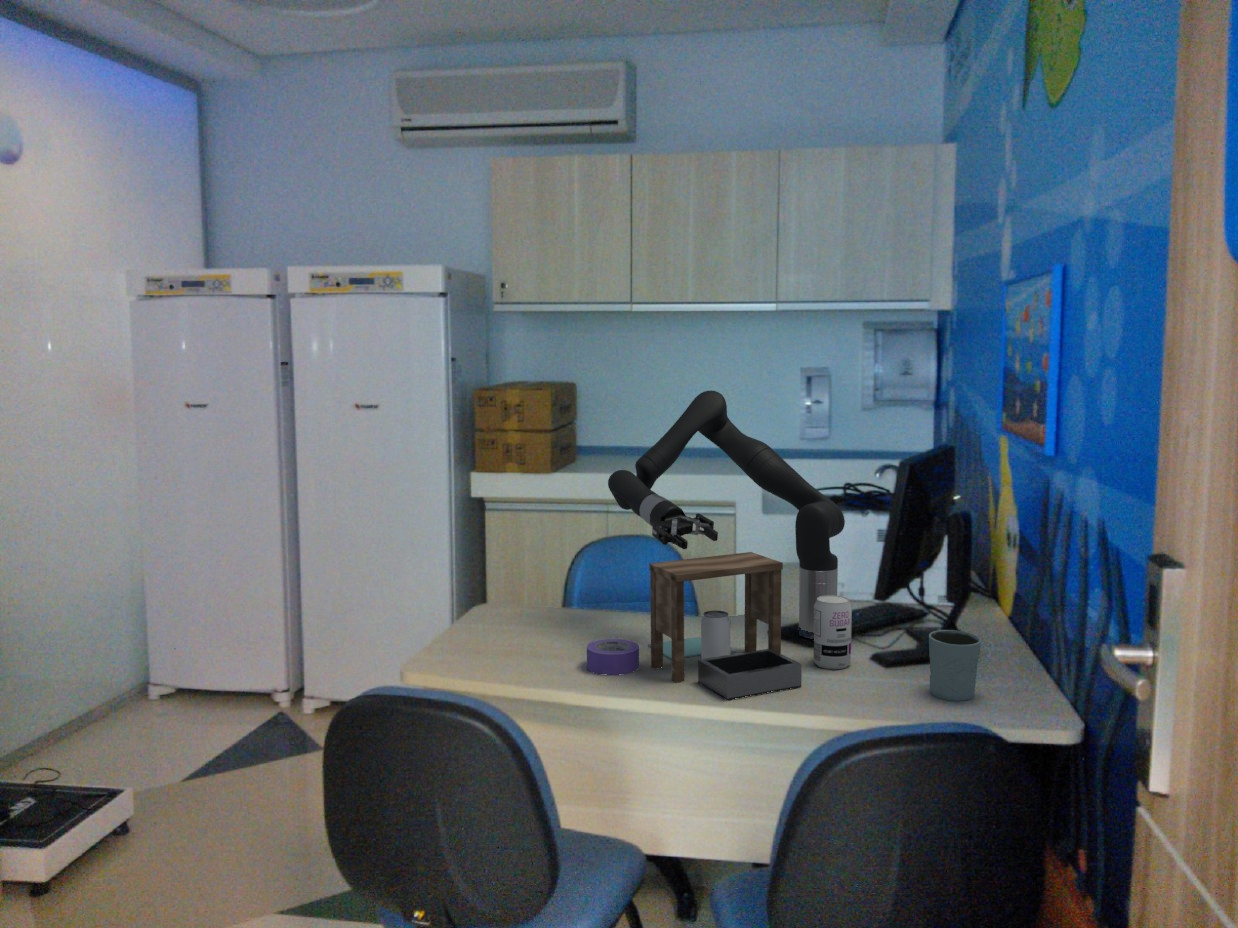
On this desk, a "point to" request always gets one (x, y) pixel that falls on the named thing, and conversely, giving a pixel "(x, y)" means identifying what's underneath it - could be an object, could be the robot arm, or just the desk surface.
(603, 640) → the tape roll
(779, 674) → the box
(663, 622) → the small wooden table
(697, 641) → the pad
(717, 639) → the can
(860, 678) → the desk surface
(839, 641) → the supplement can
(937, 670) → the grey green cup
